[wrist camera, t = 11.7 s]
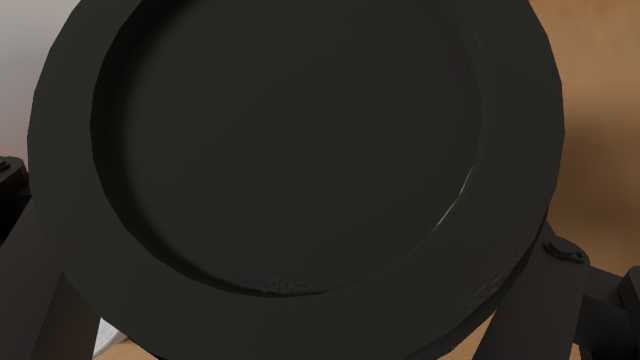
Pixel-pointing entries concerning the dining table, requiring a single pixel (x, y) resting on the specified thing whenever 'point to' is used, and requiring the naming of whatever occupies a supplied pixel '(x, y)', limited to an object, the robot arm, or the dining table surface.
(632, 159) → the dining table surface
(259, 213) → the coffee cup
